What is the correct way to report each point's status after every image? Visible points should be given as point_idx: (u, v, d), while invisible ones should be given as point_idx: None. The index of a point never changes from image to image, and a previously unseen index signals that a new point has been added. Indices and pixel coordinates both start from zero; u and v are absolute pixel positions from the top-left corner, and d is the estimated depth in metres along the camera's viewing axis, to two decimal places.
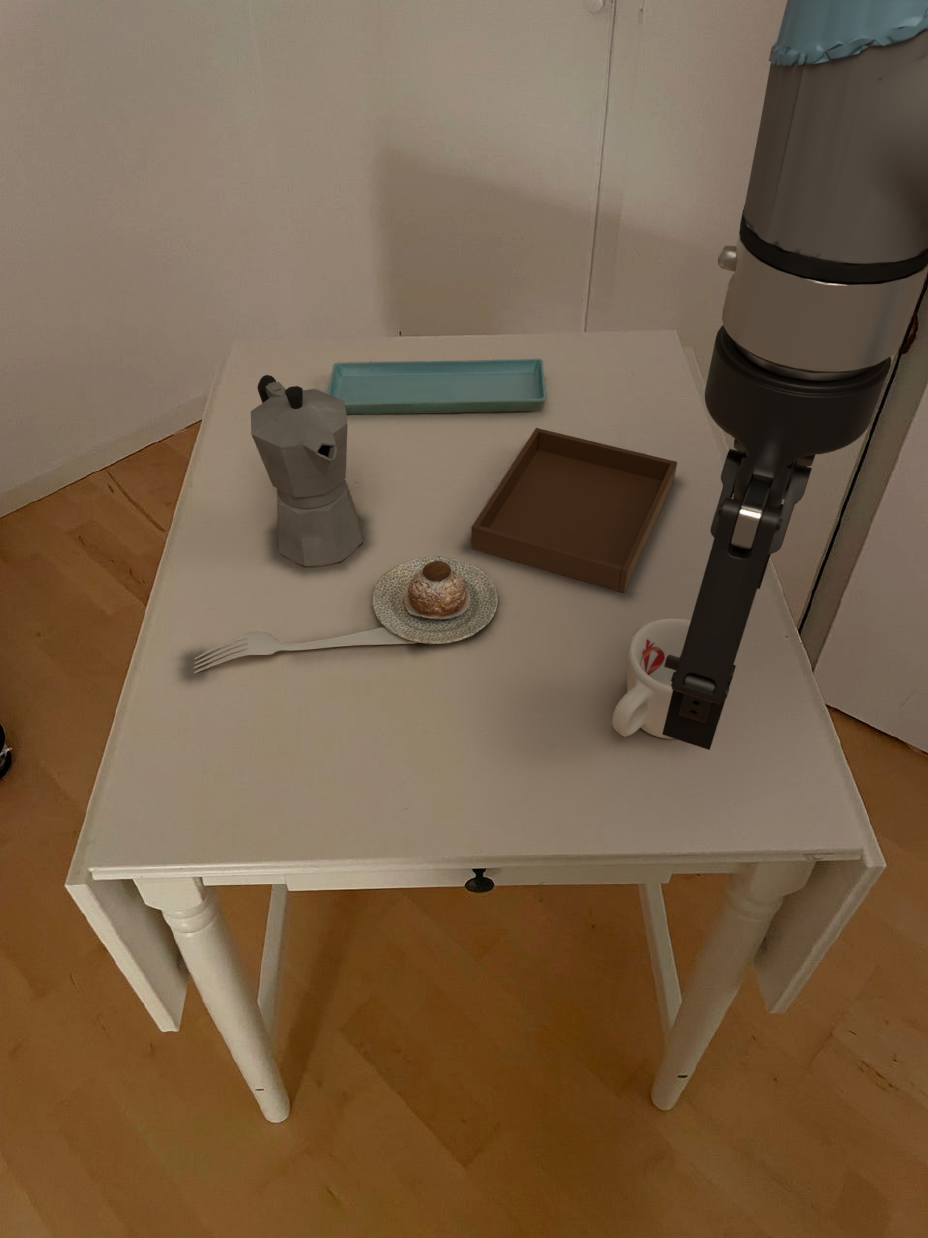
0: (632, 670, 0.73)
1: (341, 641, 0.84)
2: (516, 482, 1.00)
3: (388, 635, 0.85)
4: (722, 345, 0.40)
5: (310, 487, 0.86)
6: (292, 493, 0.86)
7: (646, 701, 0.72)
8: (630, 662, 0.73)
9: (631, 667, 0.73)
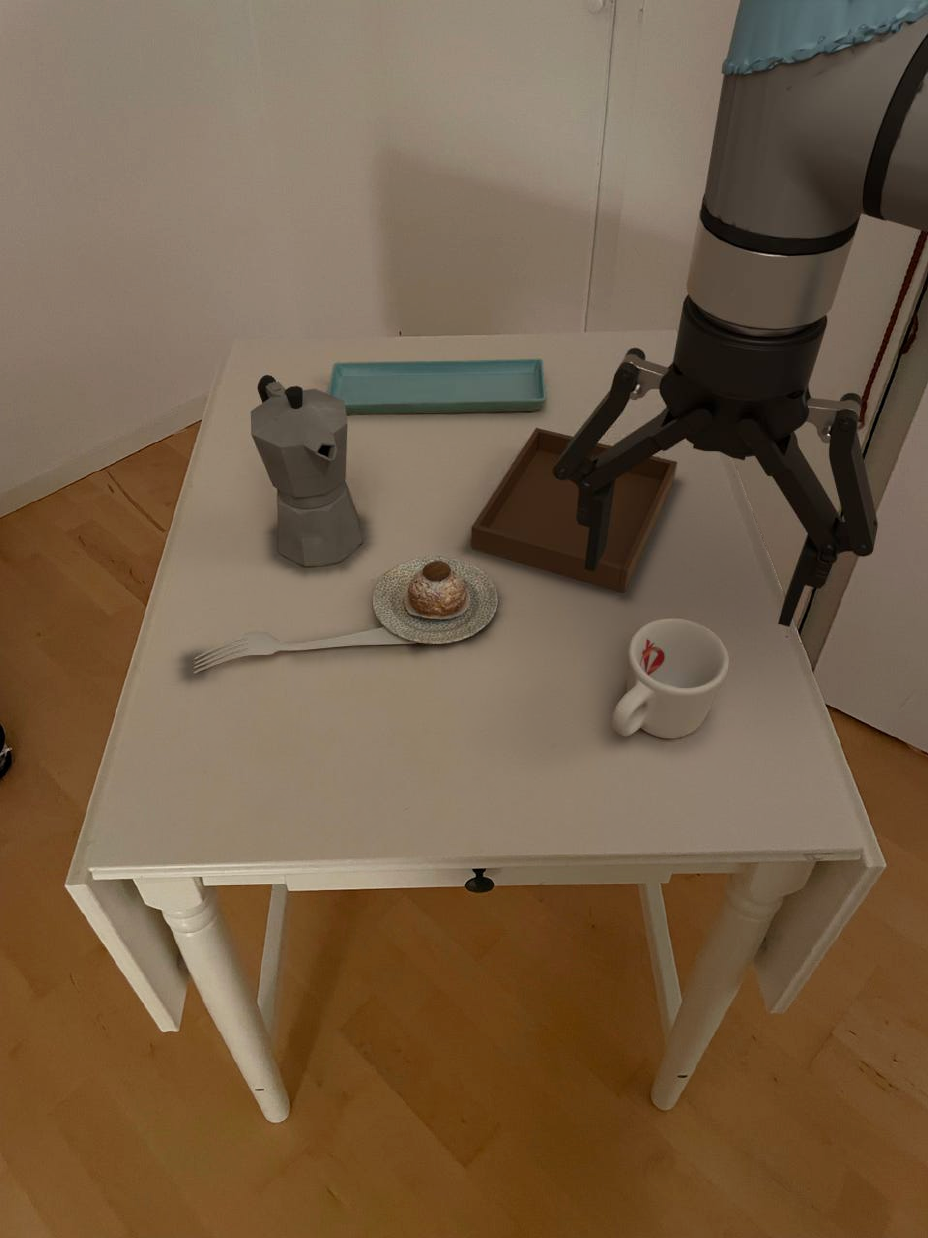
0: (632, 670, 0.73)
1: (341, 641, 0.84)
2: (516, 482, 1.00)
3: (388, 636, 0.85)
4: None
5: (310, 487, 0.86)
6: (292, 493, 0.86)
7: (646, 701, 0.72)
8: (630, 662, 0.73)
9: (631, 667, 0.73)
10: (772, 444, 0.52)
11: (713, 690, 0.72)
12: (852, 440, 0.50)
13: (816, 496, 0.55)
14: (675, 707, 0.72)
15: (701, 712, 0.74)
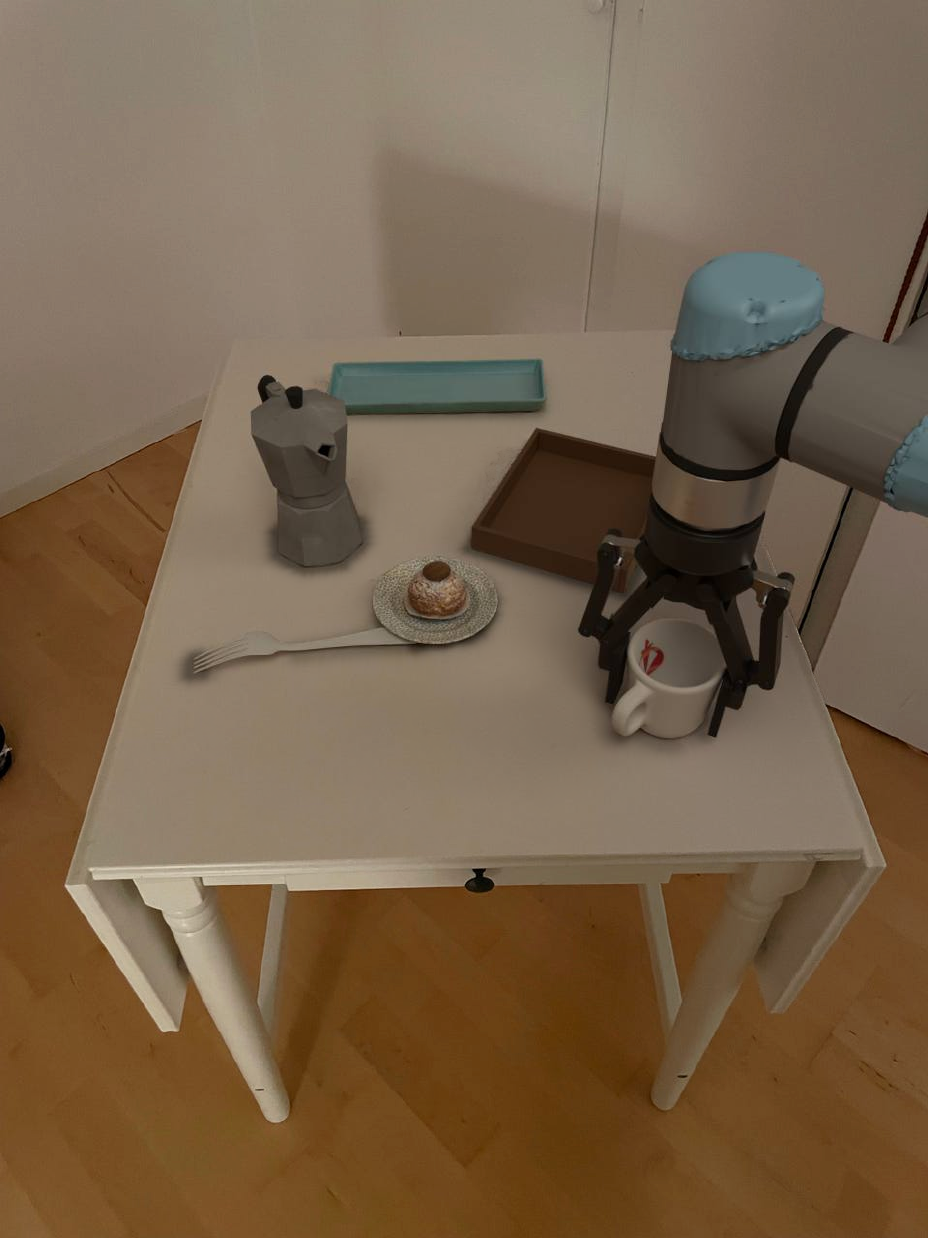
0: (630, 670, 0.73)
1: (341, 641, 0.84)
2: (516, 482, 1.00)
3: (388, 636, 0.85)
4: None
5: (310, 487, 0.86)
6: (292, 493, 0.86)
7: (645, 701, 0.72)
8: (629, 662, 0.73)
9: (630, 667, 0.73)
10: (720, 605, 0.64)
11: (712, 689, 0.72)
12: (781, 612, 0.63)
13: (741, 643, 0.68)
14: (674, 706, 0.72)
15: (700, 711, 0.74)
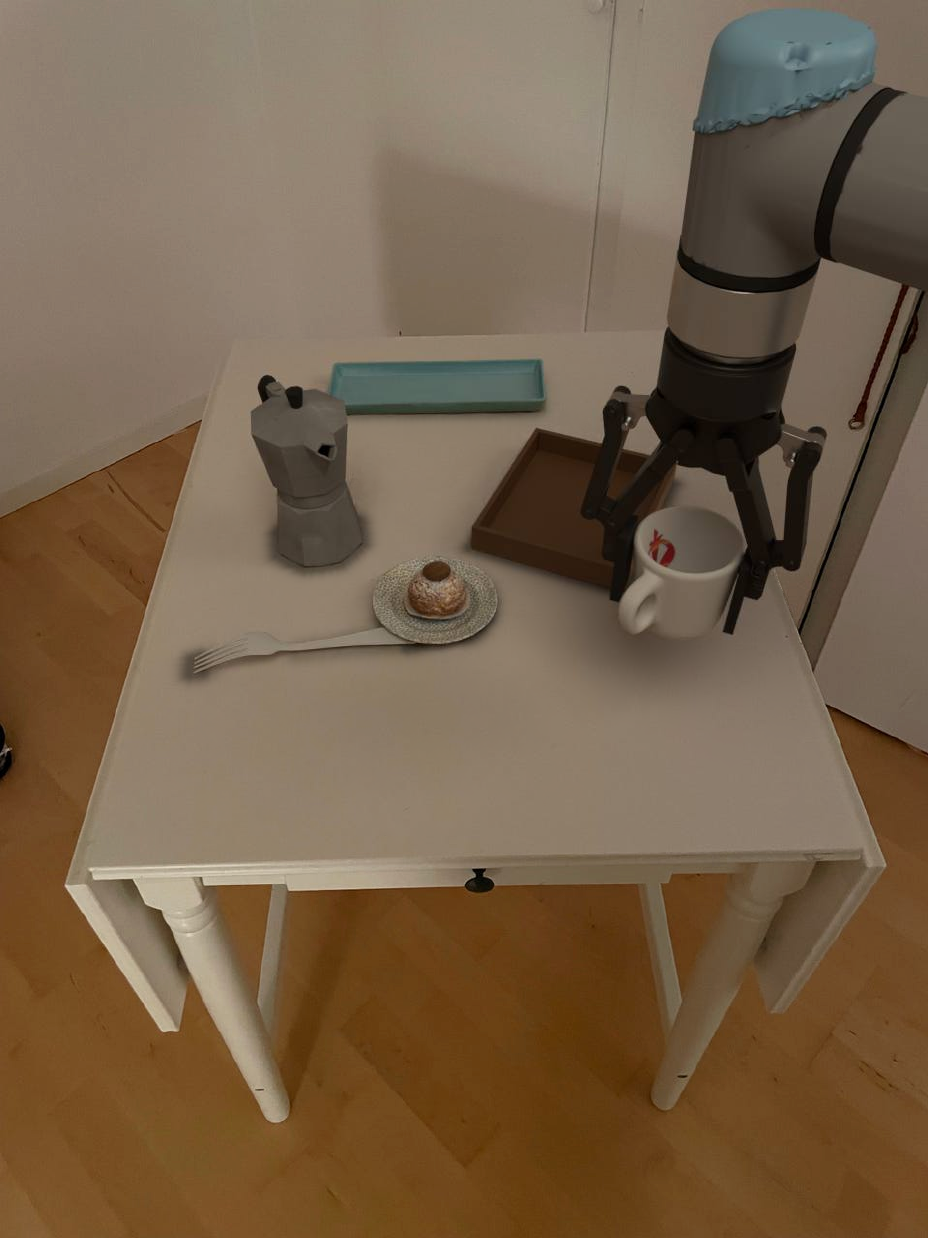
0: (638, 559, 0.66)
1: (341, 641, 0.84)
2: (516, 482, 1.00)
3: (388, 636, 0.85)
4: None
5: (310, 487, 0.86)
6: (292, 493, 0.86)
7: (655, 591, 0.65)
8: (636, 550, 0.66)
9: (637, 555, 0.66)
10: (742, 465, 0.57)
11: (729, 576, 0.64)
12: (812, 470, 0.55)
13: (763, 516, 0.60)
14: (687, 597, 0.65)
15: (716, 605, 0.66)
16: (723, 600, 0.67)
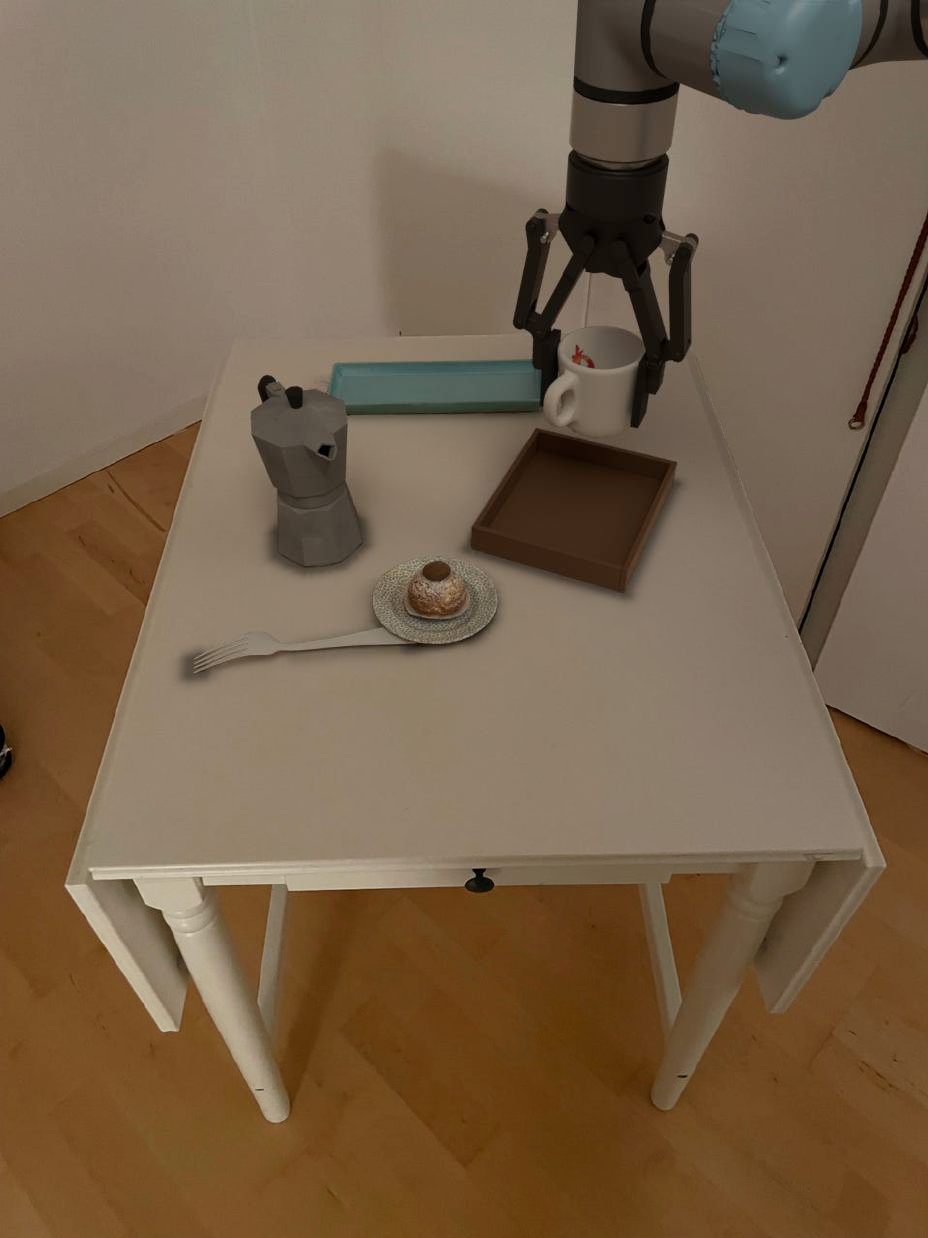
0: (560, 362, 0.81)
1: (341, 641, 0.84)
2: (516, 482, 1.00)
3: (388, 636, 0.85)
4: None
5: (310, 487, 0.86)
6: (292, 493, 0.86)
7: (572, 387, 0.80)
8: (558, 356, 0.81)
9: (559, 360, 0.81)
10: (633, 265, 0.72)
11: (632, 374, 0.80)
12: (686, 266, 0.71)
13: (654, 316, 0.76)
14: (599, 392, 0.80)
15: (624, 402, 0.82)
16: (629, 398, 0.82)
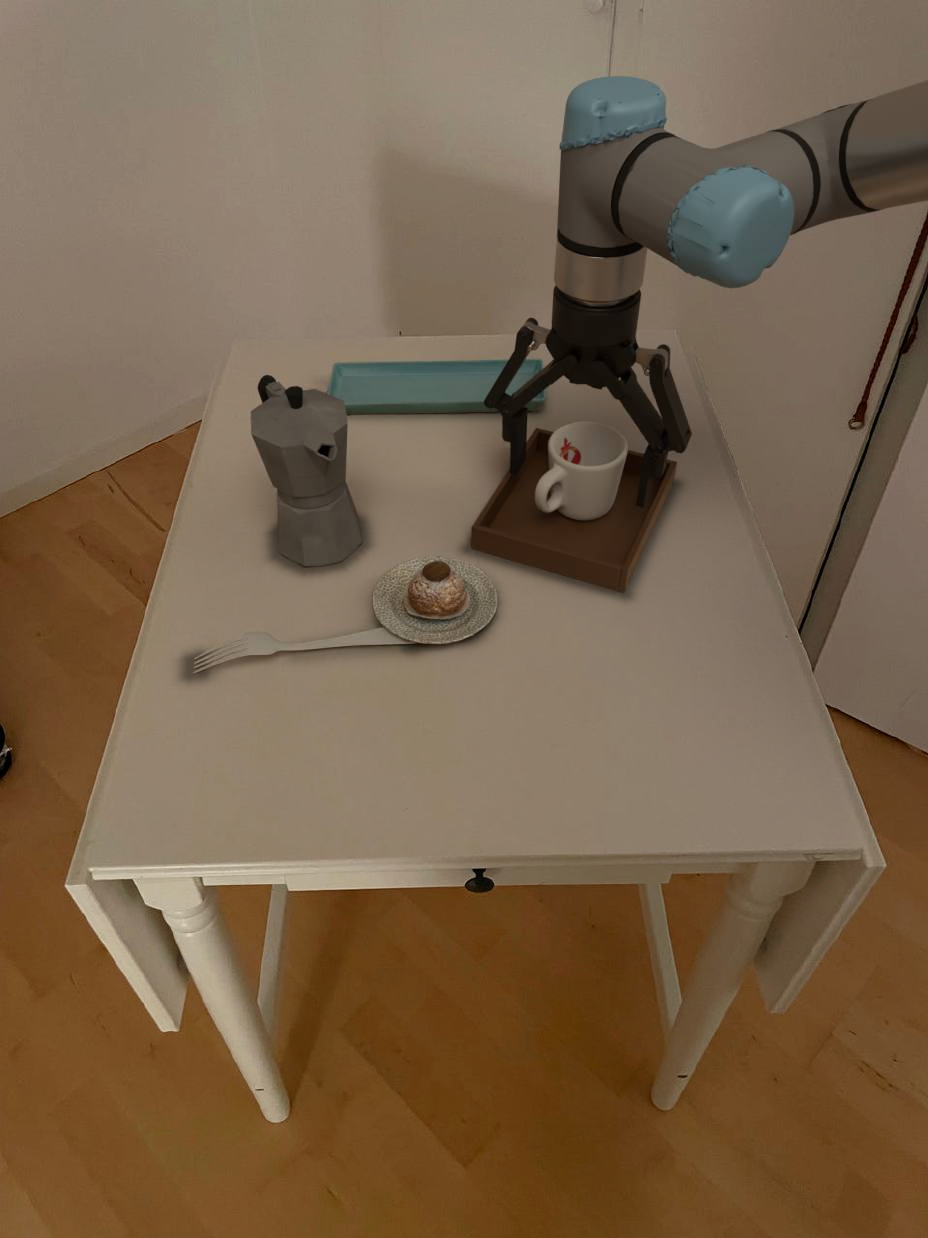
0: (550, 456, 0.91)
1: (341, 641, 0.84)
2: (516, 482, 1.00)
3: (387, 636, 0.85)
4: None
5: (310, 487, 0.86)
6: (292, 493, 0.86)
7: (561, 479, 0.90)
8: (549, 450, 0.91)
9: (549, 454, 0.91)
10: (615, 377, 0.82)
11: (614, 469, 0.90)
12: (662, 373, 0.80)
13: (649, 413, 0.84)
14: (584, 484, 0.90)
15: (606, 492, 0.92)
16: (611, 489, 0.92)
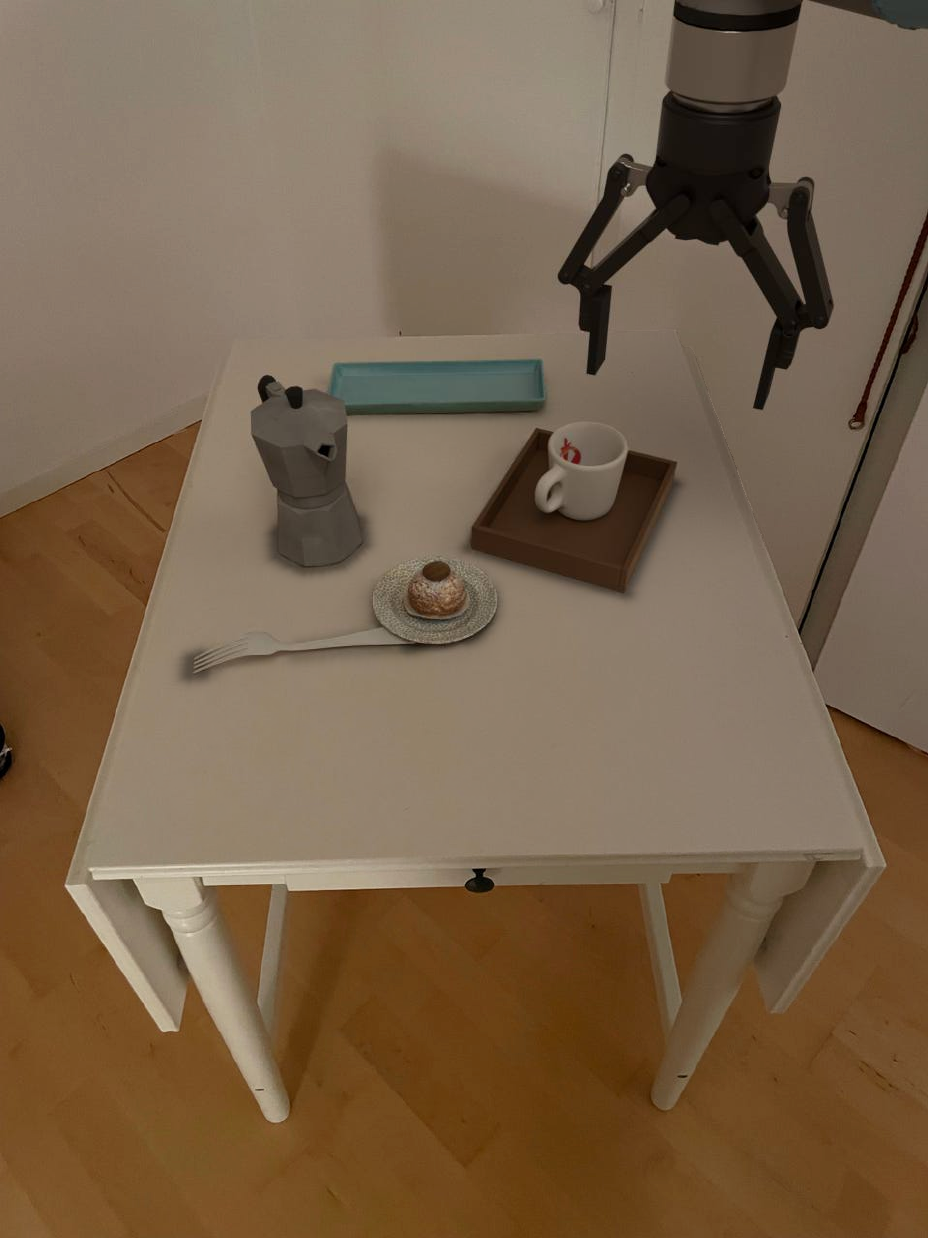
0: (550, 456, 0.91)
1: (341, 641, 0.84)
2: (516, 482, 1.00)
3: (387, 636, 0.85)
4: None
5: (310, 487, 0.86)
6: (292, 493, 0.86)
7: (561, 479, 0.90)
8: (549, 450, 0.91)
9: (549, 454, 0.91)
10: (740, 223, 0.62)
11: (614, 469, 0.90)
12: (805, 213, 0.60)
13: (779, 277, 0.65)
14: (584, 484, 0.90)
15: (606, 492, 0.92)
16: (611, 489, 0.92)
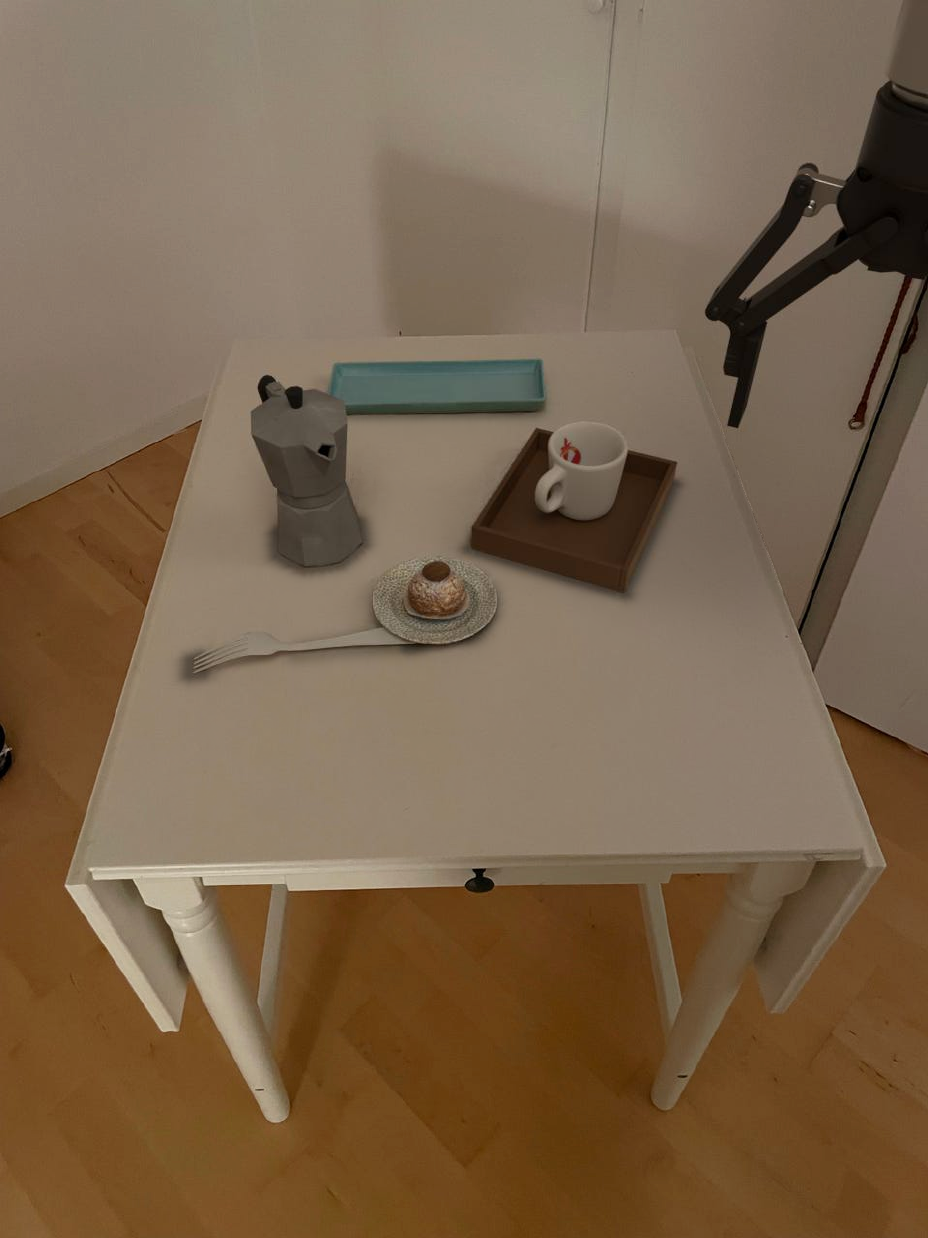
0: (550, 456, 0.91)
1: (341, 641, 0.84)
2: (516, 482, 1.00)
3: (387, 636, 0.85)
4: None
5: (310, 487, 0.86)
6: (292, 493, 0.86)
7: (561, 479, 0.90)
8: (549, 450, 0.91)
9: (549, 454, 0.91)
10: None
11: (614, 469, 0.90)
12: None
13: None
14: (584, 484, 0.90)
15: (606, 492, 0.92)
16: (611, 489, 0.92)
